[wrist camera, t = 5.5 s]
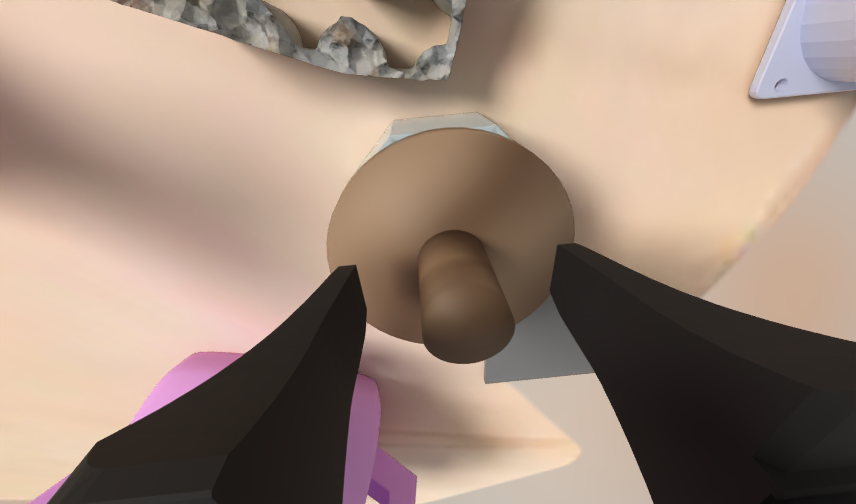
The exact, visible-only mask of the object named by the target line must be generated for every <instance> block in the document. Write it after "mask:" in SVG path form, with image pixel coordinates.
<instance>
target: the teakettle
mask: <svg viewBox="0 0 856 504" xmlns="http://www.w3.org/2000/svg"><path fill="white" fill-rule="evenodd" d="M242 355H244V354H238V353H225V352H198V353H194V354H192V355H191V356H189V357H188V358H186V359H185V360H183V361H182V362H181V363H180V364H178V365H177V366H176V367H174V368H173V369H172V370H171V371H169V372H168V373H167V374H166V375H165V376H164V377H163V378H162V379H161V380H160V382H159V383H158V384H157V386H156V387H155V388H154V390H153V391H152V392H151V393H150V395H149V396H148V398H147V399H146V401H145V402H144V404H143V405H142V406H141V408H140V409H139V411H138V412H137V414H136V415H135V417H134V418H133V420H132V422H131V423H130V424H132V423H134V422H136V421H138V420H140V419H141V418H143V417H145V416H147V415H149V414H151V413H152V412H154V411H156V410H158V409H160V408H161V407H163V406H165V405H167V404H168V403H170V402H172V401H174V400H175V399H177V398H179V397H180V396H182V395H184V394H185V393H187V392H188V391H190V390H192V389H193V388H195V387H197V386H198V385H200V384H201V383H203V382H204V381H206V380H208V379H209V378H211V377H212V376H214V375H215V374H217V373H218V372H220V371H221V370H222V369H224V368H225V367H227V366H228V365H230V364H231V363H232V362H234V361H235V360H237V359H238V358H240V357H241V356H242ZM380 419H381V403H380V397H379V392H378V388H377V384H376V382H375V381H374V380H373V379H371V378H370V377H367V376H364V375H361V374H357V378H356V383H355V388H354V393H353V399H352V405H351V412H350V422H349V431H348V441H347V453H346V464H345V476H344V490H343V504H365V502H366V498H367V494H368V495H369V496H370V497H372V498H373V499H374V500H376V501H377V502H378V503H380V504H415V498H416V482H417V476H416V475H414V474H413V473H412V472H411V471H409V470H408V469H407V468H405V467H404V466H403V465H401V464H400V463H399V462H398V461H396V460H395V459H394V458H392V457H391V456H390V455H388V454H387V453H386V452H385V451H383V450H382V449H381V448H379V447H378V446H377V444H378V436H379V429H380ZM70 475H71V474H69V475H68V476H66V477H65V478H64V479H62V480H61V481H59V482H58V483H57V484H55V485H54V486H52V487H51V488H50V489H48V490H47V491H45V492H44V493H43V494H41V495H40V496H38V497H37V498H36V499H34V500H33V501H31V502H30V503H28V504H47V503H48V501H49V500H50V499H51V498H52V497H53V495H54V494H55V493H56V492H57V490H58V489H59V488H60V487H61V486H62V484H63V483H64V482H65V481H66V479H67V478H68V477H69V476H70Z"/></svg>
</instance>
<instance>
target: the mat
mask: <svg viewBox="0 0 856 504" xmlns="http://www.w3.org/2000/svg"><path fill="white" fill-rule="evenodd" d="M588 373H595V372H594V370H593V368H592V367H591V365H590V364H589V362H588V360H587V359H586V357H585V356H584V354H583V352H582V351H581V349H580V347H579V346H578V344H577V343H576V341H575V339H574V338H573V336H572V335H571V333H570V331H569V330H568V328H567V326H566V325H565V323H564V321H563V320H562V318H561V316H560V314H559V312H558V310H557V308H556V305H555V303H554V301H553V298H552V296H551V295H550V296H549V297H548V298H547V299H546V301H545V302H544V303H543V304H542V305H541V306H540V307H539V308H538V309H536V310H535V311H534V312H533V313H532V314H531V315H529V316H528V317H527V318H525V319H524V320H522V321H521V322H519V323H518V324H516V325H515V332H514V335H513V337H512V339H511V341H510V342H509V344H508V345H507V346H506V347H505V348H504V349H503V350H502V351H501V352H499V353H498V354H496V355H495V356H493V357H491V358H488V359H486V360H485V370H484V380H485V384H490V383H500V382H509V381H519V380H528V379H539V378H549V377H558V376H568V375H578V374H588Z"/></svg>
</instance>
